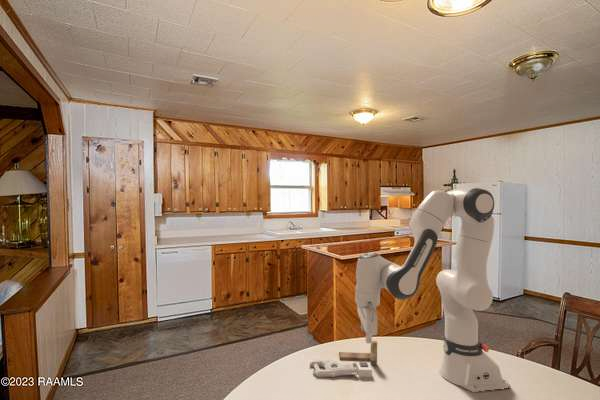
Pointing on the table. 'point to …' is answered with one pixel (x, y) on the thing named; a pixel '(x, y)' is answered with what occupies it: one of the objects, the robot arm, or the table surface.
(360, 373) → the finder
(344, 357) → the bar
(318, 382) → the table surface
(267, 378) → the table surface
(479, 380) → the robot arm
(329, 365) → the gun
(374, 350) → the tan rounded rod
